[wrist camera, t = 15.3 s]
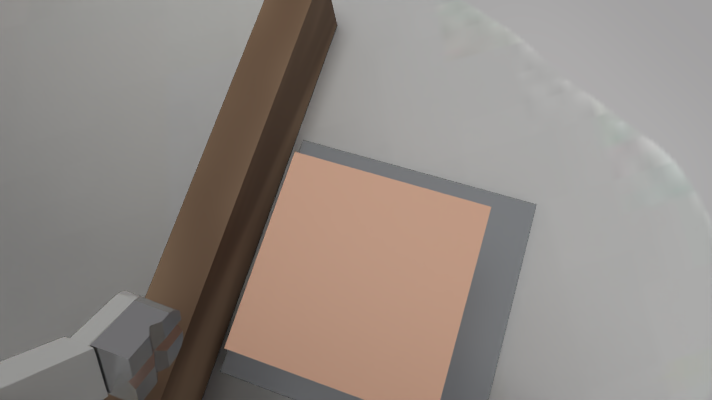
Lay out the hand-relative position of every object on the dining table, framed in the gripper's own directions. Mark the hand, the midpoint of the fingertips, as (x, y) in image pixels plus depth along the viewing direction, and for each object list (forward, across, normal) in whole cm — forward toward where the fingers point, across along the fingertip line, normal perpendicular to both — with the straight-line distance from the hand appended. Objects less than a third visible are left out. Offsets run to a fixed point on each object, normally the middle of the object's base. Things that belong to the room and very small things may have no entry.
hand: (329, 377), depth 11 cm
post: (+8, 0, +4) cm, 9 cm away
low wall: (+9, +7, +3) cm, 12 cm away
